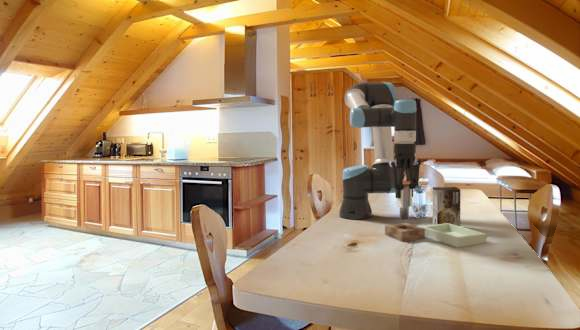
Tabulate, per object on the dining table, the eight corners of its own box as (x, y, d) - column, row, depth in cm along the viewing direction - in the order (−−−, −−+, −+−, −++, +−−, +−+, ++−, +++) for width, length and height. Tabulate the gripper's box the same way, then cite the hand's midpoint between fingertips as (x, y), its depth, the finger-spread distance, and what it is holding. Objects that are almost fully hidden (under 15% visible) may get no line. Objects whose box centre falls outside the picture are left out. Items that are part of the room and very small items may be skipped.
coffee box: (454, 225, 148) (455, 186, 147) (460, 229, 142) (461, 189, 141) (431, 225, 149) (432, 186, 148) (436, 229, 143) (437, 189, 141)
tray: (421, 234, 136) (421, 226, 136) (447, 230, 141) (448, 222, 140) (457, 247, 120) (457, 238, 120) (485, 242, 125) (486, 233, 125)
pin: (395, 217, 135) (395, 180, 134) (405, 216, 137) (405, 179, 136) (403, 220, 131) (403, 182, 130) (413, 219, 133) (413, 181, 132)
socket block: (384, 234, 137) (384, 225, 137) (406, 231, 141) (406, 222, 140) (402, 241, 128) (402, 232, 128) (424, 238, 132) (424, 228, 131)
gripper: (393, 143, 125) (392, 210, 127) (430, 142, 131) (428, 206, 133) (380, 143, 132) (379, 206, 134) (415, 141, 138) (414, 202, 140)
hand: (404, 206), depth 134 cm, fingers closed on pin, 3 cm apart
